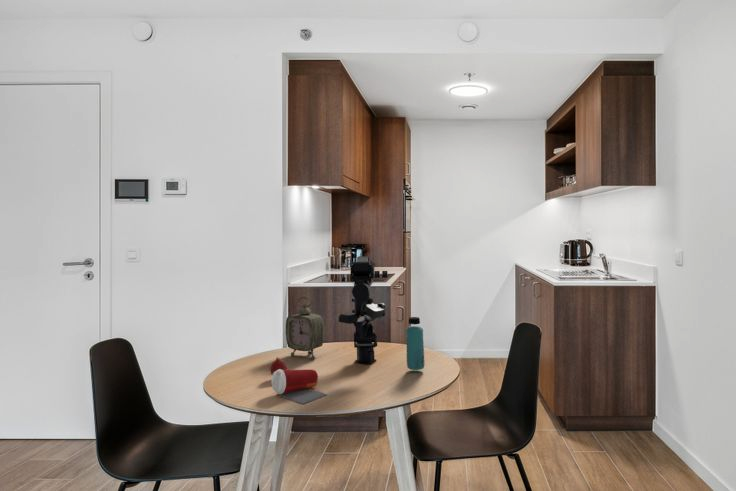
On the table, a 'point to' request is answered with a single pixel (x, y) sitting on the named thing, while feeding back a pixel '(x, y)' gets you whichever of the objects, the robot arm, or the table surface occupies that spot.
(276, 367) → the red rounded piece
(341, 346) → the table surface
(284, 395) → the mat
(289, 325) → the tabletop clock
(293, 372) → the paper cup
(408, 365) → the beverage bottle
